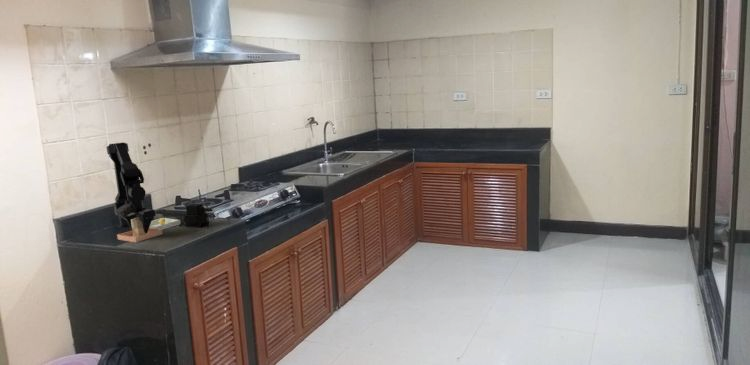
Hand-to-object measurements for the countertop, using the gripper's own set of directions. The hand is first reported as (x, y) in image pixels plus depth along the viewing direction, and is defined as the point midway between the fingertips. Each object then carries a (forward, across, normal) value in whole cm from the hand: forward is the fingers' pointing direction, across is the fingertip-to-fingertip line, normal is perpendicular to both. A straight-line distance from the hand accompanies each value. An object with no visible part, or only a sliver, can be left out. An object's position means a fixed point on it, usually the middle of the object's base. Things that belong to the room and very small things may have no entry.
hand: (139, 232), depth 257 cm
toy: (+3, +12, +23) cm, 26 cm away
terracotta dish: (+2, 0, 0) cm, 2 cm away
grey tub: (+2, -7, +15) cm, 17 cm away
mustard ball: (+2, -9, +18) cm, 20 cm away
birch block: (+2, 0, 0) cm, 2 cm away
